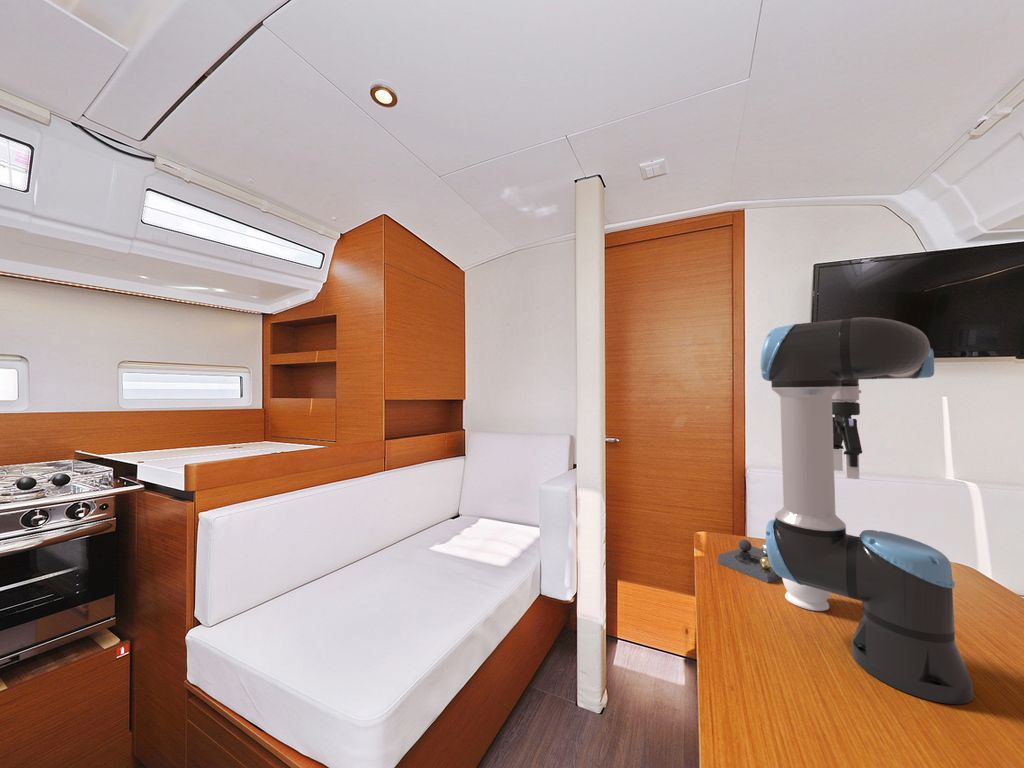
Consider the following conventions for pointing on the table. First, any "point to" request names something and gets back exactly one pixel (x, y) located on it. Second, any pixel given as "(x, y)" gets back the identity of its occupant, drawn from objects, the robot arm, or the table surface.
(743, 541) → the black ball
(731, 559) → the plate
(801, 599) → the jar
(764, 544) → the ball
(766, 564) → the brass ball
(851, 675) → the table surface
